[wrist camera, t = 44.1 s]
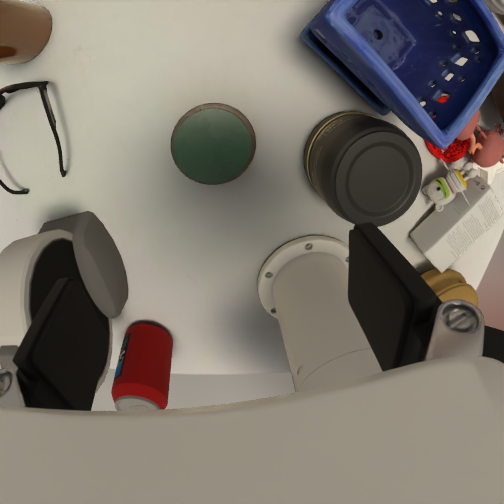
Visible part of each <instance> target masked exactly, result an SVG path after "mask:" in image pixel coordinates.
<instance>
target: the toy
mask: <svg viewBox="0 0 504 504" xmlns="http://www.w3.org/2000/svg"><path fill="white" fill-rule="evenodd" d="M440 159H441V161H442V162H443V164H444V166H445V167H446V168H447V170H448V172H449V173H448V174H447V177H446V179H445V178H443V177H439V178H436V179H434V180H433V181H432V182H431V183H430V184H429V185H425V187H424V188H422V190H423V193H424V194H426V195H427V194H428V196H429V198H430V199H431V200H432V201H433V202H434V203H436V204H435V209H436V211H438V212H441V211H442V210H443V205H445V204H447V203H449V202H450V201H452V200H453V199H454V198H455V195H456V193H457V192H461V193H462V195H463V197H464V199H465V200H466V202H467V204H468V205H469V207H470V204H469V202H468V200H467V198H466V197H465V195H464V193H463V190H466V187H467V183H466V180H467V179H469V178H474V177H476V175H477V170H476V169H474V168H473V164H472V163H471V162H466V163H465V164H464V166H463V170H461V171H459V170H457V169H452V171H450V170H449V168H448V167H447V165H446V163H445V162H444V161H443V159H442V158H440ZM465 172H467V175H466V176H465V177H463V174H464V173H465ZM455 192H456V193H455Z"/></svg>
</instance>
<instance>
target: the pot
mask: <svg viewBox="0 0 504 504" xmlns="http://www.w3.org/2000/svg"><path fill="white" fill-rule="evenodd" d="M420 276H421V277H422V278H423V279H424V280H425V281H426V283H427V284H428V285H429V286H430V287H431V289H432V290H433V291H434V292H435V294H436V295H437V296H438V297H439V299H440V300H441V301H442V302H445V301H447V300H451V299H461V300H465V301H468V302H471V303H472V304H474V305H475V306H477V307H478V297H477V293H476V291H475V290H474V288H473V287H472V286H471V285H469V284H467V283H466V281H465V278H464V277H463V276H462V275H461V274H460V273H459V272H457V271H454V270H451V269H446V270H445V271H444V272H443V273H441V272H440V271H439V270H438V269H433V270H430V271H427V272H425V273H423V274H422V275H420Z"/></svg>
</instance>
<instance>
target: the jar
mask: <svg viewBox="0 0 504 504" xmlns="http://www.w3.org/2000/svg"><path fill="white" fill-rule="evenodd" d="M304 166H305V171H306V174H307V177H308V179H309V181H310V183H311V185H312V186H313V188H314V189H315V191H316V192H317V193H318V195H319V196H320V197H321V198H322V199H323V200H324V201H325V202H326V203H327V204H328V206H329V207H330V208H331V209H332V210H333V211H334V212H335V213H336V214H337V215H338V216H340V217H341V218H343V219H345V220H347V221H349V222H351V223H353V224H355V225H356V224H362V223H367V222H372V223H373V224H374V225H375V226H376V227H378V226H383V225H386V224H388V223H390V222H392V221H394V220H396V219H398V218H399V217H400V216H402V215H403V214H404V213H405V212H406V211H407V210H408V209H409V208H410V207H411V205H412V204H413V202H414V201H415V199H416V197H417V195H418V192H419V189H420V186H421V180H422V163H421V158H420V155H419V152H418V150H417V148H416V146H415V145H414V143H413V142H412V141H411V139H410V138H409V137H408V136H407V135H406V134H405V133H404V132H403V131H402V130H400V129H399V128H398V127H396V126H395V125H393V124H391V123H389V122H386V121H383V120H380V119H378V118H377V117H375V116H372V115H369V114H366V113H361V112H341V113H337V114H334V115H332V116H330V117H328V118H326V119H325V120H323V121H322V122H321V123H320V124H319V125H318V126H317V127H316V128H315V129H314V130H313V132H312V133H311V135H310V137H309V139H308V141H307V144H306V147H305V152H304Z"/></svg>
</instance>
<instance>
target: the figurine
mask: <svg viewBox="0 0 504 504" xmlns="http://www.w3.org/2000/svg"><path fill="white" fill-rule="evenodd" d="M479 117H480V112H479V109H478V110H477V112H476V113H475V114H474V116H473V117H472V118H471V120H470V121H469V122H468V124H467V125H466V126H465V127H464V129H463V130H462V131H461V132H460V134H459V135H458V136H457V137H456V138H457V139H459V140H462V141H463V140H466V139H468V138H469V137H470V148H469V149H468V151H469V153H470V154H473V160H474V161H475V163H476V164H477V165H479V166H480V167H483V168H487V167H491V166H494V165H495V164H497V163H498V162H499V161H500V163H502V164H504V161H503V159H502V156H503V153H504V141H503V138H502V135H503V132H504V129H500V126H501V125H500V124H499V123H496V124H495V126H497V128H496V131H493V130H485V131H481V128H480V127H479V126H478V124H477V123H478V121H479ZM475 128H476V129H477V131H479V133H480V135H479V137H478V140H477V142H476V138H475V135H474V134H473V132H474V130H475ZM499 131H500V134H499V133H498V132H499ZM475 142H476V143H475Z"/></svg>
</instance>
